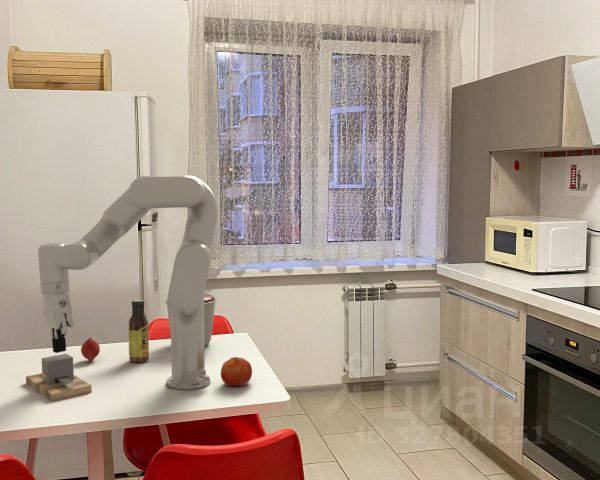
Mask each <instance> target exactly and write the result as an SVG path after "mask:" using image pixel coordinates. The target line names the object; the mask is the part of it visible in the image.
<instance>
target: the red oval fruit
mask: <svg viewBox="0 0 600 480" xmlns="http://www.w3.org/2000/svg"><path fill="white" fill-rule="evenodd" d="M100 348H101V347H100V344H99V343H98V342H97V341H96V340H94V339H93V337H92V336H89V338H88V339H87V340H85V341H84V342H83V344H82V345H81V348H80V353H81V355H82V356H83V358H85V359H86V360H88V361H89V362H93V361H94V360H95V359H96V358H97V356H99V354H100V351H101V349H100Z"/></svg>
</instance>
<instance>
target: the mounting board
mask: <svg viewBox="0 0 600 480" xmlns="http://www.w3.org/2000/svg"><path fill="white" fill-rule="evenodd" d="M73 382H75V384H73V388H71V389H66V388H65V387H63V386H62V385H60V384H59V383H57V382H55V381H54V385H48V384H46V383H45V382H43V380H42V372H41V373H37V374H30V375H26V376H25V384H27V385H28V386H29V387H31V388H33V390H34V391H36V392H38V393H39V394H41V395H42V396H44V397H45V398H47V399H48V400H50V401H51V402H55V401H60V400H63V399H65V400H66V399H68V398H73V397H78V396H81V395H85V394H90V393H92V384H90V383H88V382H87V381H85V380H83V379H81V378H80V377H78V376H77V375H75V374H74V380H73Z"/></svg>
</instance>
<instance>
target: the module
mask: <svg viewBox="0 0 600 480" xmlns="http://www.w3.org/2000/svg"><path fill="white" fill-rule="evenodd" d="M41 373H42V380H43V382H45V383H46V384H48V385H54V378H59V377H64V376H65V377H66V378H68V379H70V380H71V381H73V380H74V375H75V374H74V357H73V356H71V355H69V354H67V353H63V354H58V355H57V354H56V355H52V356H46V357H42V358H41Z"/></svg>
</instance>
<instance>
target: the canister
mask: <svg viewBox="0 0 600 480" xmlns="http://www.w3.org/2000/svg"><path fill="white" fill-rule="evenodd" d="M217 301H218V299H217V297H215V296H214V295H212V294H210V293H206V292H204V347H206V346H208V344H210V342H211V341H212V335H213V326H214V316H215V308H216V307H215V306H216V304H215V303H216V302H217ZM164 302H165V305H166V309H167V316H168V317H167V318H168V323H169V324H168V325H169V331H170V333H171V307H170V306H169V303H168V297H167V298H166V299H165V300H164Z"/></svg>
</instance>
